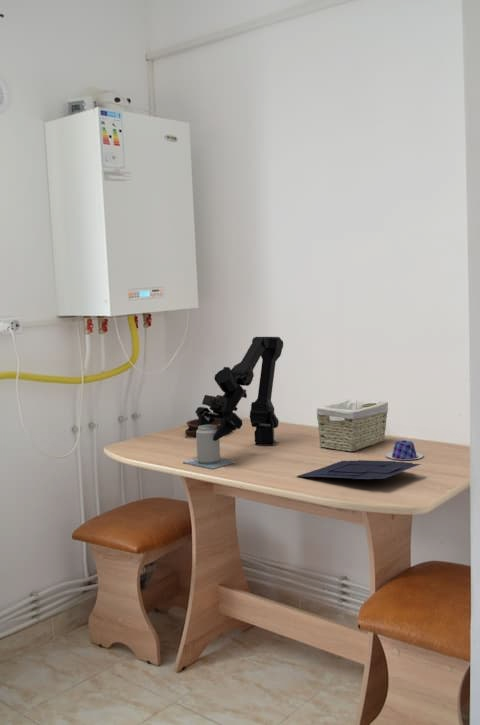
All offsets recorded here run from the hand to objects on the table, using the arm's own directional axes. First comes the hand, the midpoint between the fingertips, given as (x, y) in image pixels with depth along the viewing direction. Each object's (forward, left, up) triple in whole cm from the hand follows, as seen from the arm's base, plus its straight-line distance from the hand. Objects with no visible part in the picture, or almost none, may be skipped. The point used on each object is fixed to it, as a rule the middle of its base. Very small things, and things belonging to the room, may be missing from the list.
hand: (205, 438), depth 249 cm
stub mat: (-1, -1, -8) cm, 9 cm away
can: (-1, -1, -8) cm, 8 cm away
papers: (-50, +12, -9) cm, 52 cm away
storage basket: (-46, -31, -9) cm, 56 cm away
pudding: (-64, -14, -9) cm, 66 cm away
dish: (+10, -48, -9) cm, 50 cm away
